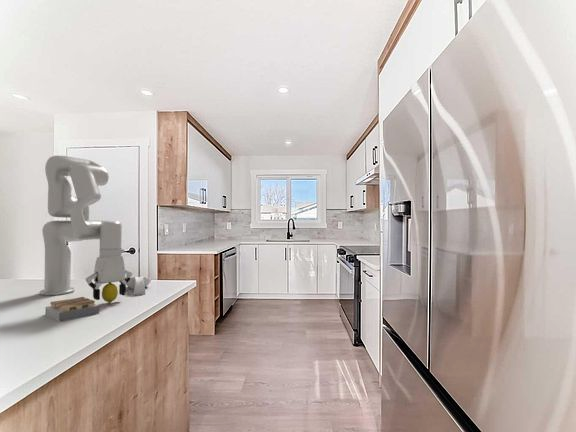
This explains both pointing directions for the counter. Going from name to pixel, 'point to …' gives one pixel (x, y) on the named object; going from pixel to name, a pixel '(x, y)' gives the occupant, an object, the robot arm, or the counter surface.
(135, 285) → the spoon rest
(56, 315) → the dock
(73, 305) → the pallet
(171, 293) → the counter surface
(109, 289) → the lemon
